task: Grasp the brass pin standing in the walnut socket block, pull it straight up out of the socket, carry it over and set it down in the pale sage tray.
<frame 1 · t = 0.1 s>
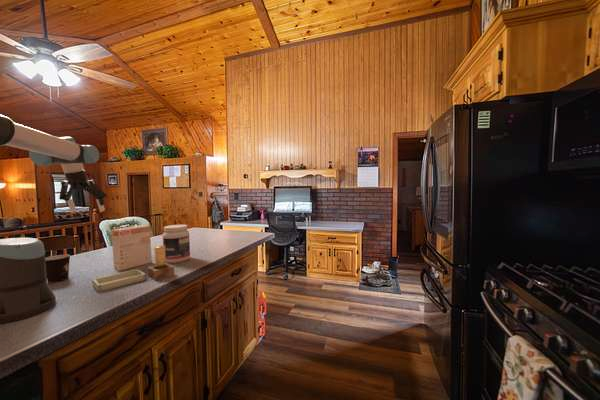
hand: (88, 211, 127), 28 cm above the worktop, tool tilted 20°, fingers open, 13 cm apart
pin: (160, 261, 110), in the socket block
coffeecake box: (133, 265, 127), on the worktop
tray: (119, 282, 104), on the worktop
supplement tub: (177, 260, 135), on the worktop
socket block: (161, 275, 111), on the worktop
coffee mug: (62, 279, 110), on the worktop
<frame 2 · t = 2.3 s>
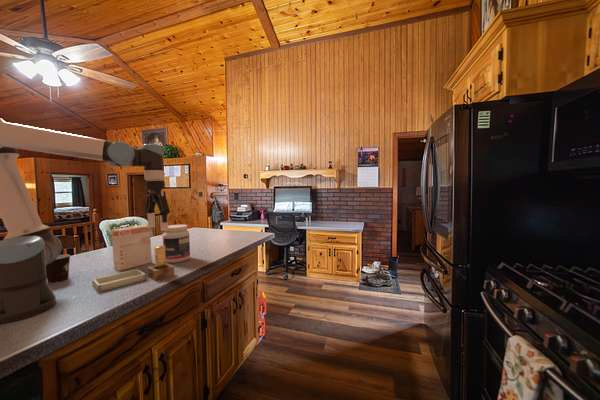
hand: (157, 228, 111), 21 cm above the worktop, tool pointing down, fingers open, 13 cm apart
nothing on the worktop moved.
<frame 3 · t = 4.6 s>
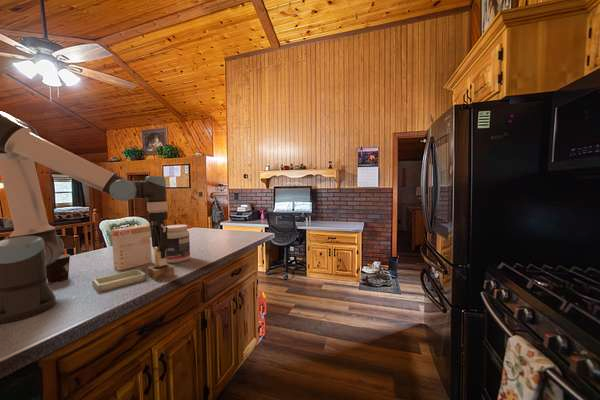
hand: (160, 264, 111), 5 cm above the worktop, tool pointing down, fingers closed on pin, 4 cm apart
pin: (160, 261, 110), in the socket block, touching gripper
everything else where it was.
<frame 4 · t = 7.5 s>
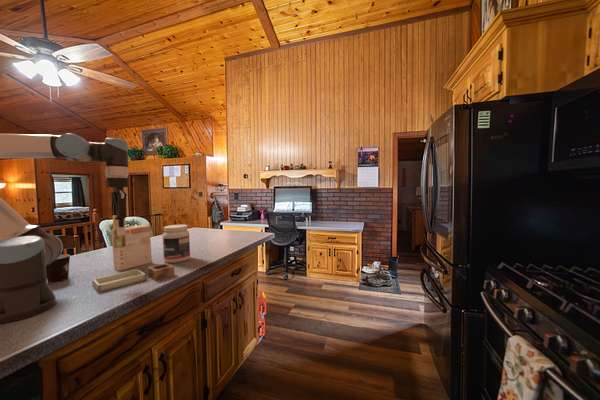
hand: (119, 234, 103), 20 cm above the worktop, tool pointing down, fingers closed on pin, 4 cm apart
pin: (119, 231, 103), point 21 cm above the worktop, touching gripper
everything else where it was.
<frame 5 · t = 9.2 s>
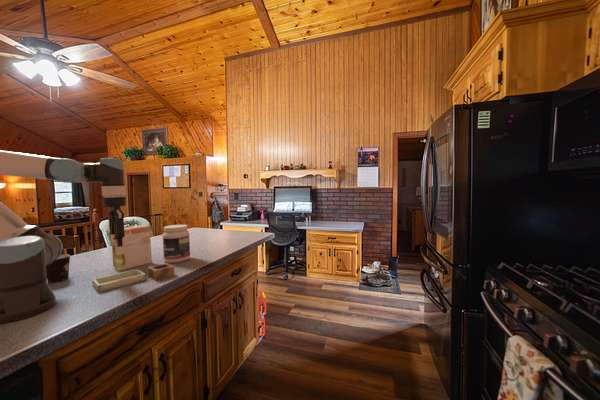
hand: (118, 253, 103), 12 cm above the worktop, tool pointing down, fingers closed on pin, 4 cm apart
pin: (118, 250, 103), point 14 cm above the worktop, touching gripper
everything else where it was.
when the fingers open (7 cm above the worktop, at t = 10.4 s): pin drops 1 cm, resting on tray.
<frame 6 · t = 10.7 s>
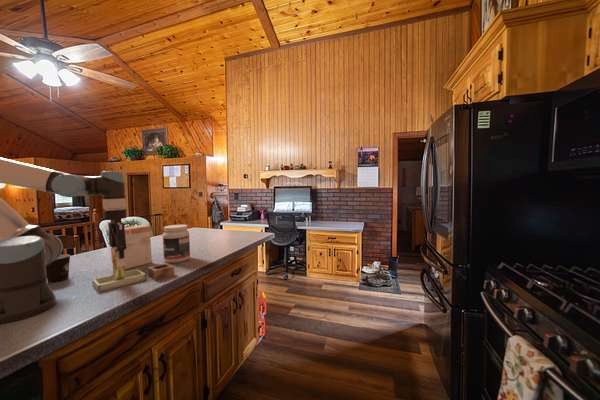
hand: (118, 264, 103), 8 cm above the worktop, tool pointing down, fingers open, 8 cm apart
pin: (118, 265, 103), in the tray, point 7 cm above the worktop
everything else where it was.
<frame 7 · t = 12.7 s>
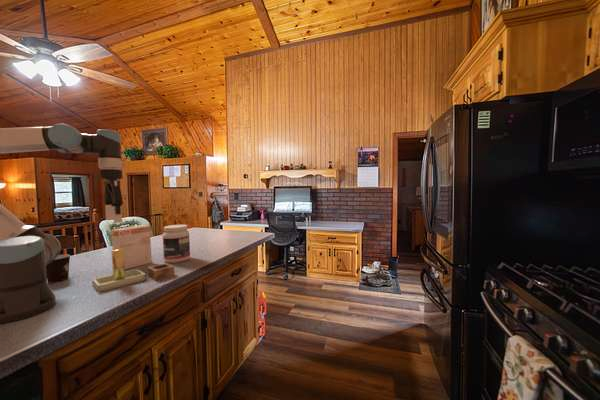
hand: (113, 221, 103), 25 cm above the worktop, tool pointing down, fingers open, 13 cm apart
nothing on the worktop moved.
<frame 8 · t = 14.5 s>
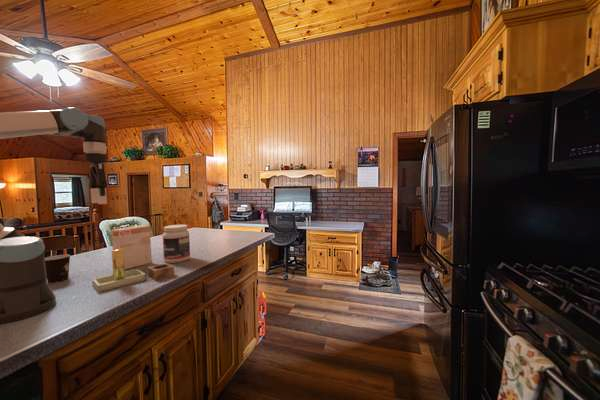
hand: (99, 203, 107), 33 cm above the worktop, tool pointing down, fingers open, 13 cm apart
nothing on the worktop moved.
at the end: pin inside the target area on the tray (0.0 cm from its centre), point 7.1 cm above the tray's base; pin touching tray; the gripper is holding nothing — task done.
